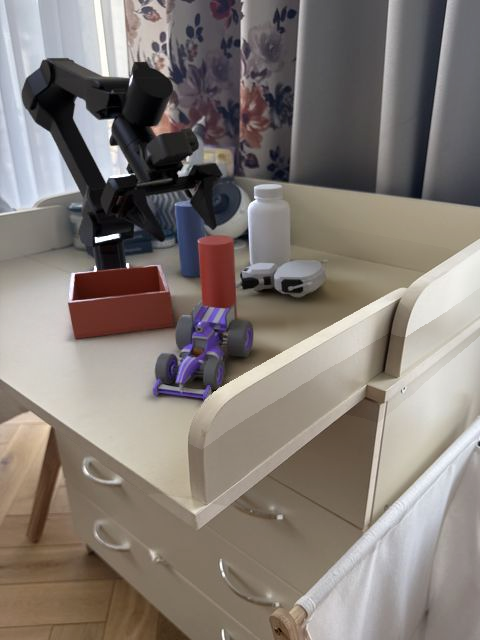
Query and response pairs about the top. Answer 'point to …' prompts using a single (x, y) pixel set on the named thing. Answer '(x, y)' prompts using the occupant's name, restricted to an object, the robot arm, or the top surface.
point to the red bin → (119, 301)
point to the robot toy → (284, 277)
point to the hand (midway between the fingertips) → (190, 234)
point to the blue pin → (188, 237)
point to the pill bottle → (269, 226)
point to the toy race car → (203, 350)
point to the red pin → (217, 271)
